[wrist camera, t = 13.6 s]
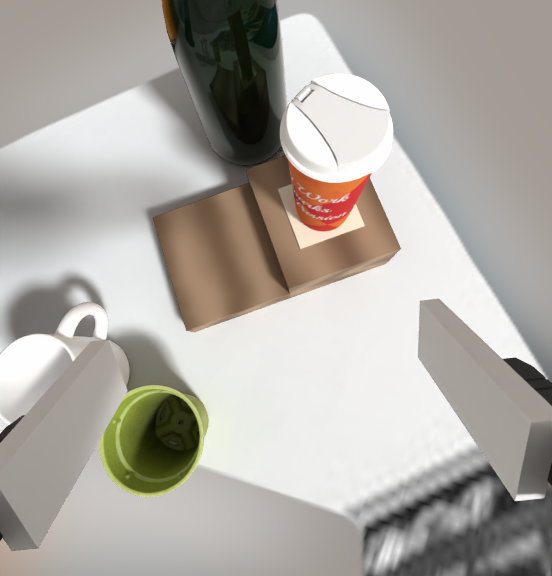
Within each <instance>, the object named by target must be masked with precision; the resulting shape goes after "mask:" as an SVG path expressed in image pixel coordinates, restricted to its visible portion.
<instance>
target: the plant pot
mask: <svg viewBox="0 0 552 576" xmlns="http://www.w3.org/2000/svg"><path fill="white" fill-rule="evenodd" d="M184 401H185V402H184ZM164 409H166V411H165V413H164V415H163V418H162V421H160V416H161V413H162V411H163V410H164ZM180 420H182V421H183V423H182V425H179V421H180ZM207 428H208V415H207V412H206V409H205V407H204V405H203V404H202V402H201V401H200V400H199V399H197V398H196V397H194V396H192V395H189V394H183V393H181V392H180V391H178V390H176V389H174V388H171V387H168V386H163V385H146V386H141V387H138V388H135V389H133V390H131V391H129V392H127V393H126V395H125V396H124V398H123V400H122V402H121V403H120V405H119V407H118V409H117V410H116V412H115V414H114V416H113V418H112V419H111V421H110V423H109V425H108V426H107V428H106V430H105V432H104V433H103V435H102V437H101V439H100V440H99V450H100V456H101V460H102V463H103V466H104V468H105V470H106V472H107V474H108V476H109V477H110V478H111V479H112V481H113V482H114V483H115V484H116V485H117V486H119V487H120V488H121V489H123V490H124V491H126V492H128V493H130V494H133V495H136V496H141V497H155V496H161V495H164V494H167V493H169V492H171V491H173V490H175V489H176V488H178V487H179V486H181V485H182V484H183V483H184V482H185V481H186V480H187V479H188V478H189V477H190V475H191V474H192V473H193V471H194V470H195V468H196V466H197V464H198V462H199V460H200V457H201V454H202V450H203V444H204V436H205V434H206V432H207ZM198 431H199V433H200V435H199V436H198V435H197V433H198ZM169 439H171V440H172V441H174V442H177V443H179V445H173V444H171V443H169V441H168V440H169Z"/></svg>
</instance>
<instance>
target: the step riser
mask: <svg viewBox="0 0 552 576" xmlns="http://www.w3.org/2000/svg"><path fill="white" fill-rule="evenodd" d="M246 173H247V176H248V180H249V183H247V184H245V185H242V186H239V187H236V188H233V189H231V190H228V191H225V192H222V193H219V194H217V195H214V196H211V197H208V198H205V199H203V200H200V201H197V202H194V203H191V204H189V205H186V206H183V207H180V208H177V209H175V210H172V211H169V212H166V213H163V214H161V215H158V216H155V217H153V220H154V223H155V226H156V230H157V233H158V236H159V240H160V243H161V246H162V250H163V253H164V257H165V260H166V263H167V267H168V270H169V273H170V277H171V280H172V284H173V287H174V290H175V294H176V297H177V300H178V304H179V307H180V310H181V314H182V317H183V321H184V324H185V327H186V331H191V332H196V331H199V330H202V329H205V328H207V327H210V326H213V325H216V324H219V323H221V322H224V321H227V320H230V319H233V318H235V317H238V316H241V315H244V314H247V313H249V312H252V311H255V310H258V309H261V308H263V307H266V306H269V305H272V304H275V303H277V302H280V301H283V300H286V299H289V298H291V297H294V296H297V295H300V294H302V293H305V292H308V291H311V290H314V289H316V288H319V287H322V286H325V285H328V284H330V283H333V282H336V281H339V280H342V279H344V278H347V277H350V276H353V275H356V274H358V273H361V272H364V271H367V270H370V269H372V268H375V267H378V266H381V265H384V264H386V263H387V262H388V261H389V260H390V259H391V258H392V257H393V256H394V255H395V254H396V253H397V252H398V251H399V250H400V249H401V248H400V245H399V243H398V241H397V239H396V236H395V234H394V232H393V230H392V227H391V225H390V223H389V221H388V218H387V216H386V214H385V211H384V209H383V207H382V205H381V202H380V200H379V198H378V196H377V193H376V191H375V189H374V187H373V184H372V182H371V180H370V178H369V179H368V181H367V183H366V185H365V187H364V189H363V190H362V192H361V194H360V196H359V198H358V200H357V202H356V203H355V205H354V207H353V209H352V211H351V212H350V214H349V216H348V217H347V219H346V220H345V222H344V223H343V224H342V225H340V226H339V227H338V228H336V229H334V230H331V231H325V232H321V231H315V230H312V229H310V228H309V227H307V226H306V225H305V224H304V223H303V222H302V221H301V220H300V218H299V216H298V213H297V210H296V205H295V200H294V194H293V188H292V182H291V176H290V170H289V163H288V158H287V157H286V155H285V156H282V157H279V158H276V159H274V160H271V161H268V162H265V163H263V164H260V165H257V166H254V167H251V168H249V169H246Z"/></svg>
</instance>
